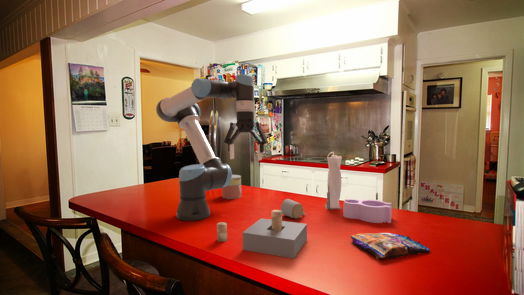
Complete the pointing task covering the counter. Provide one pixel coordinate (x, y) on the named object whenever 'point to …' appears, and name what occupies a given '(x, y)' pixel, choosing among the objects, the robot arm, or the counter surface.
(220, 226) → the short pin
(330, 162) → the skyscraper
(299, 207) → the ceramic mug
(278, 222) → the long pin
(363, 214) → the clip
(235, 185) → the canned food
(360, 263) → the counter surface
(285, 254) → the hole block
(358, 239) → the food package
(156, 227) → the counter surface
